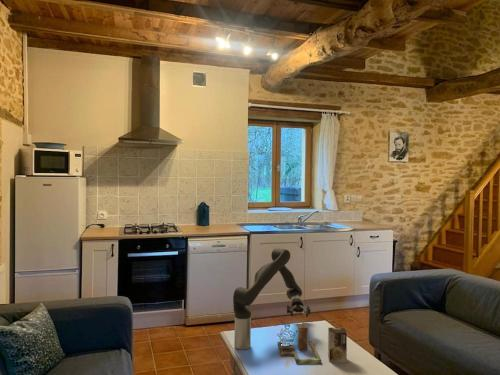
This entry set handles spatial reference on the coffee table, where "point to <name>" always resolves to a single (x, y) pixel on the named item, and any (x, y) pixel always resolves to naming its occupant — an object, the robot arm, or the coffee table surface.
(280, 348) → the trap lane
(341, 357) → the coffee box
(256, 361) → the coffee table surface
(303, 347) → the walnut block
